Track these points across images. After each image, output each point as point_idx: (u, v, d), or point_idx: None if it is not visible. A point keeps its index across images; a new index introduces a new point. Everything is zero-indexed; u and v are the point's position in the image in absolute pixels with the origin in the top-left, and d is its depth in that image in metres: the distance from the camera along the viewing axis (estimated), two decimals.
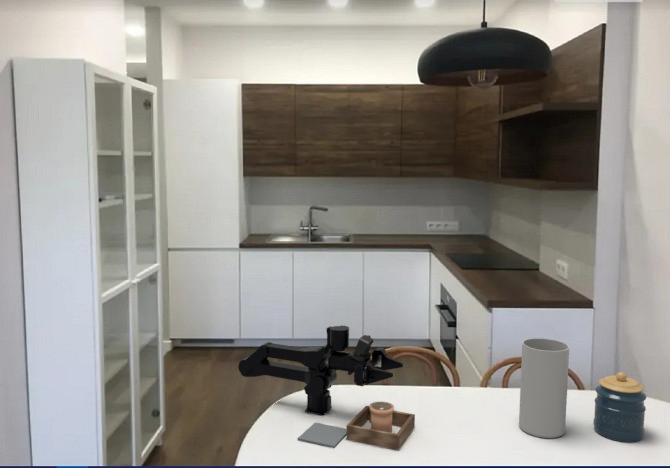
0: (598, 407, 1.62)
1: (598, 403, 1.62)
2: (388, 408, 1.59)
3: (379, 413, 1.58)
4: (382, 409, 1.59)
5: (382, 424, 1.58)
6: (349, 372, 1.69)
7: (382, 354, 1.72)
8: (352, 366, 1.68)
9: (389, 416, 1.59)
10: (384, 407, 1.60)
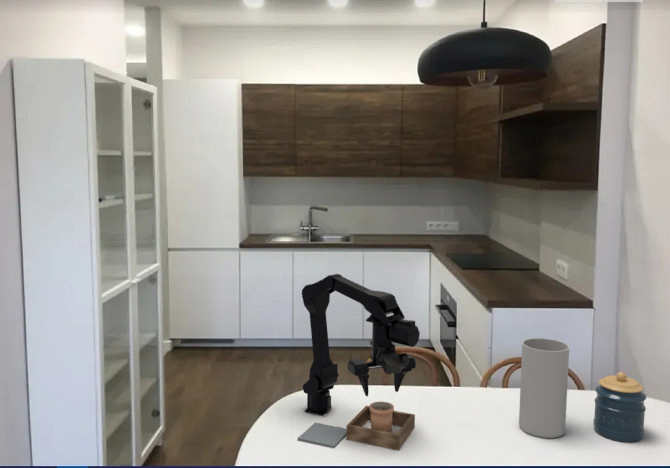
0: (598, 407, 1.62)
1: (598, 403, 1.62)
2: (388, 408, 1.59)
3: (379, 413, 1.58)
4: (382, 409, 1.59)
5: (382, 424, 1.58)
6: (371, 343, 1.60)
7: (402, 371, 1.60)
8: (372, 349, 1.58)
9: (389, 416, 1.59)
10: (384, 407, 1.60)
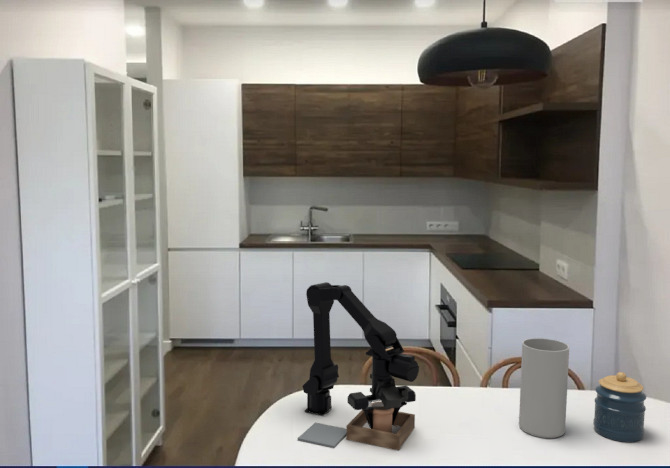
0: (598, 407, 1.62)
1: (598, 403, 1.62)
2: None
3: (379, 413, 1.58)
4: (382, 409, 1.59)
5: (382, 424, 1.58)
6: (371, 376, 1.61)
7: None
8: (372, 382, 1.59)
9: (389, 416, 1.59)
10: (384, 407, 1.60)
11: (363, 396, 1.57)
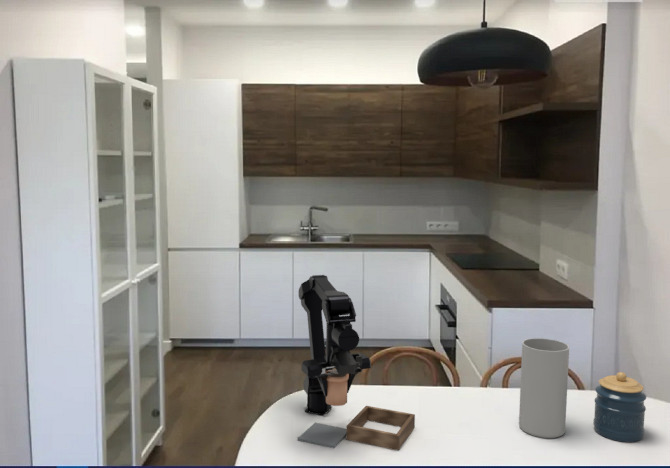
0: (598, 407, 1.62)
1: (598, 403, 1.62)
2: (342, 375, 1.57)
3: (333, 380, 1.55)
4: (337, 376, 1.56)
5: (336, 391, 1.56)
6: (325, 343, 1.59)
7: None
8: (326, 349, 1.57)
9: (344, 383, 1.56)
10: None
11: (317, 363, 1.54)
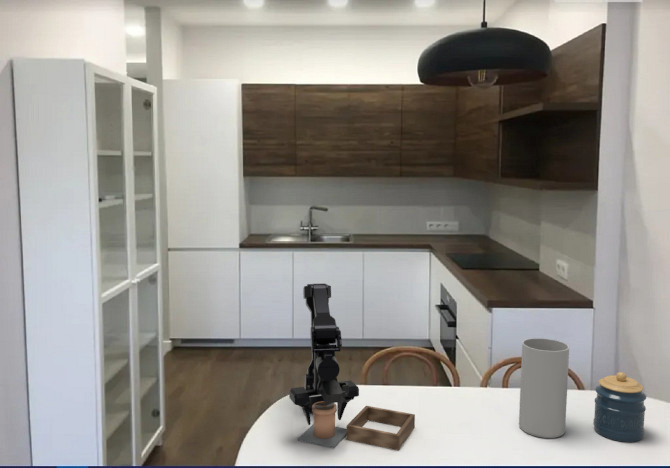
0: (598, 407, 1.62)
1: (598, 403, 1.62)
2: (330, 408, 1.58)
3: (320, 413, 1.56)
4: (324, 408, 1.57)
5: (324, 424, 1.56)
6: (313, 371, 1.59)
7: (344, 399, 1.59)
8: (314, 377, 1.57)
9: (331, 416, 1.57)
10: (326, 407, 1.58)
11: (304, 391, 1.55)
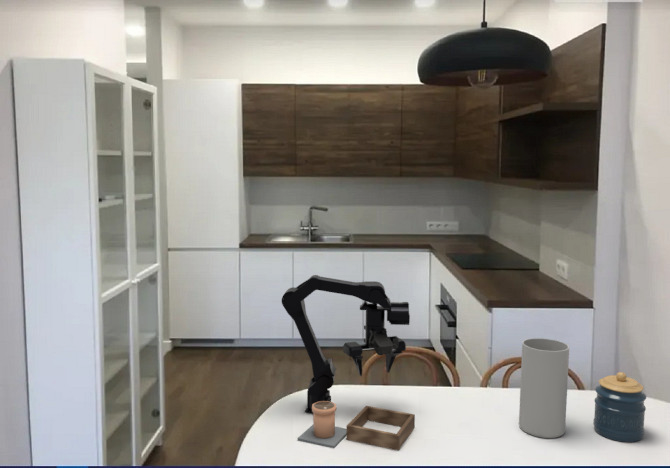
0: (598, 407, 1.62)
1: (598, 403, 1.62)
2: (330, 407, 1.58)
3: (321, 412, 1.56)
4: (324, 408, 1.57)
5: (324, 423, 1.57)
6: (364, 327, 1.75)
7: (392, 353, 1.74)
8: (366, 333, 1.73)
9: (331, 415, 1.57)
10: (326, 406, 1.58)
11: (357, 344, 1.71)
